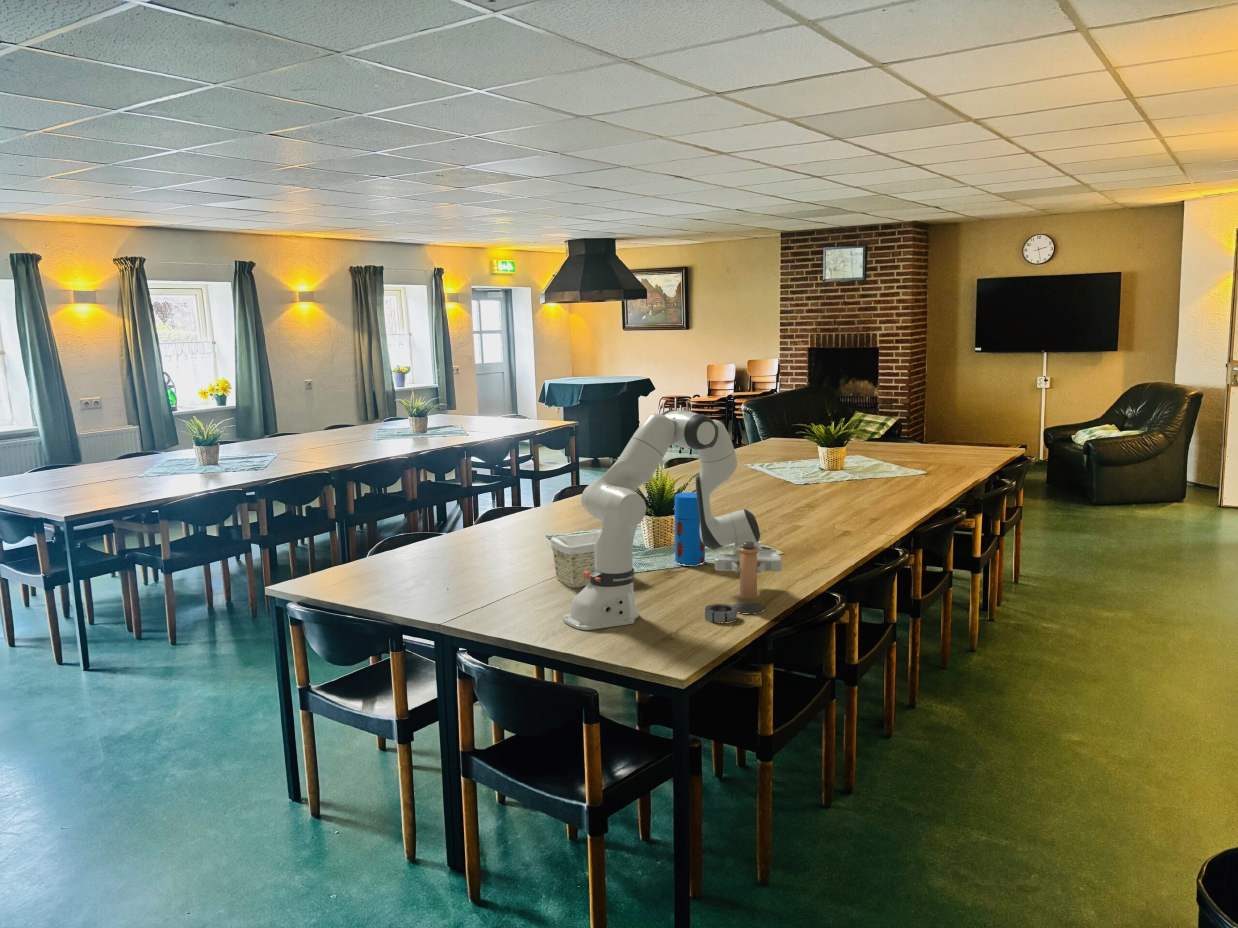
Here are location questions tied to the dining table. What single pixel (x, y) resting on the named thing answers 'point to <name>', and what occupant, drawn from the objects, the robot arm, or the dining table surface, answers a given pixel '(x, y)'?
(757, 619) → the dining table surface
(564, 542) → the storage basket
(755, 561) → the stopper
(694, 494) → the thermos
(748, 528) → the robot arm
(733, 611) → the collar
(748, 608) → the rest pad
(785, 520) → the dining table surface
